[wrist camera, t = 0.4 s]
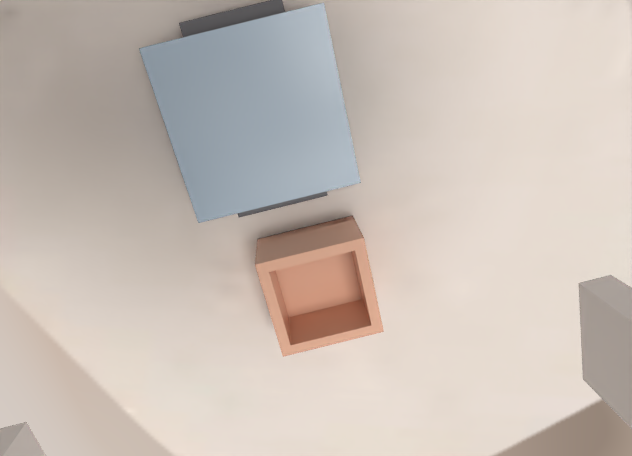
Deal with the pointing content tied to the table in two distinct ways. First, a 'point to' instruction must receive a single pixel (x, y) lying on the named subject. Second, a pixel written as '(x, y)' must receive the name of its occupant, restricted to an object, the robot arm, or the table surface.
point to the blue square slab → (254, 112)
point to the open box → (318, 285)
